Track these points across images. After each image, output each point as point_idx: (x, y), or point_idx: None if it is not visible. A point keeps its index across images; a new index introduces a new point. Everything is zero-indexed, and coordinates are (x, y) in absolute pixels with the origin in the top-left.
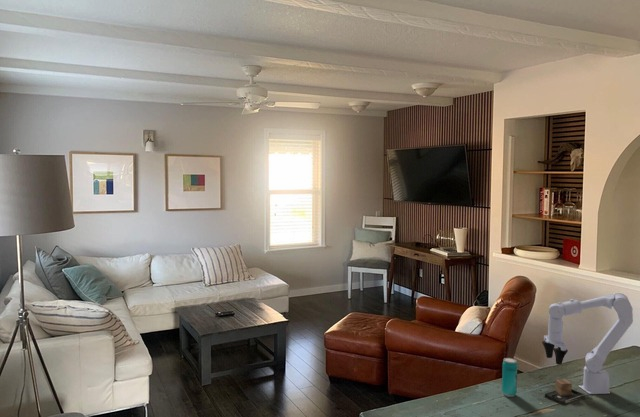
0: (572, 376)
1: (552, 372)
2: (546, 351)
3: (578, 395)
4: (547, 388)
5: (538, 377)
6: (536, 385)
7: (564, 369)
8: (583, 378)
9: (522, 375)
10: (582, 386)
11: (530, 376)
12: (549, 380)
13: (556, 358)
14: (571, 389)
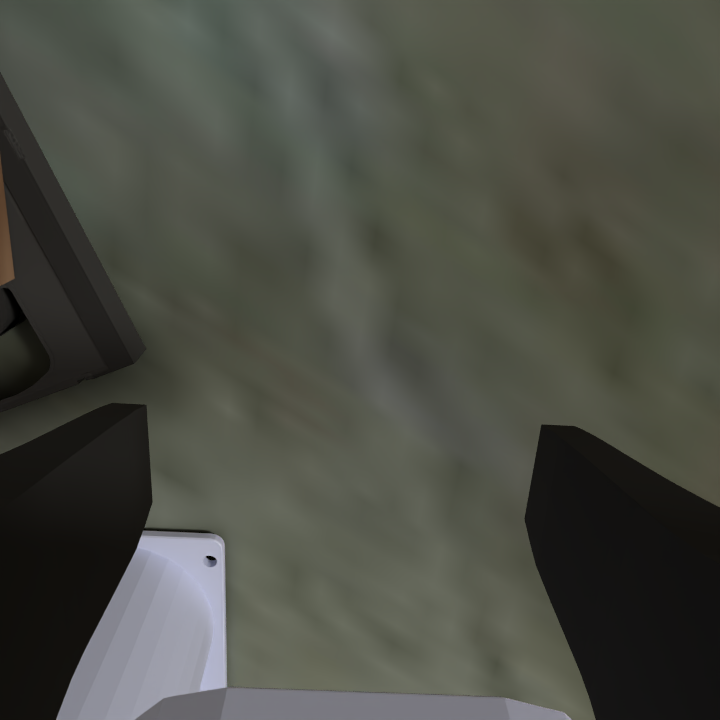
0: (496, 626)
1: None
2: (616, 486)
3: None
4: (202, 124)
5: (572, 223)
6: (319, 12)
7: None
8: (134, 638)
9: (708, 10)
10: (189, 564)
11: (636, 123)
12: (448, 314)
13: (20, 453)
14: (54, 381)
